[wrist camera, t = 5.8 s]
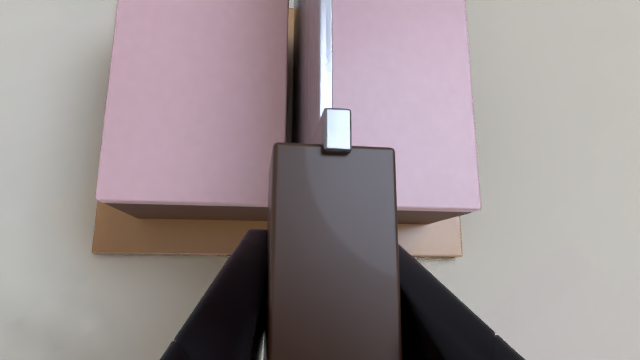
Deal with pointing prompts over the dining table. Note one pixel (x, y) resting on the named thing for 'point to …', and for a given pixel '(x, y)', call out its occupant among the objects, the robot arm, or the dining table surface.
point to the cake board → (224, 235)
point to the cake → (281, 104)
